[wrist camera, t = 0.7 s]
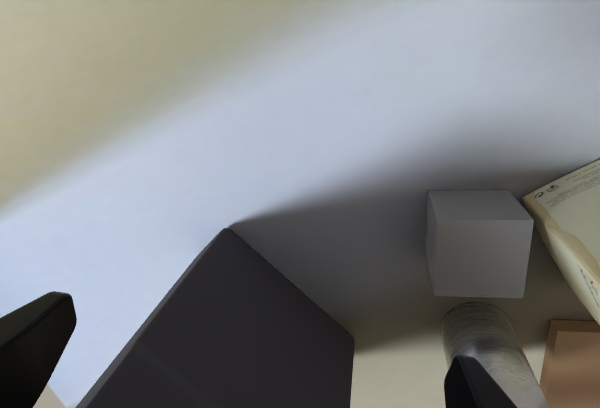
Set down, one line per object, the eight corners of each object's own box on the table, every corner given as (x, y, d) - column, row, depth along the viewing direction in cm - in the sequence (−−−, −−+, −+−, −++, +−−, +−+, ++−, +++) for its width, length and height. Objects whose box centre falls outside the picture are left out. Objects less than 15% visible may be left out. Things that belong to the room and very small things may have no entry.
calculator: (191, 260, 27) (-4, 501, 13) (232, 218, 25) (57, 443, 11) (317, 366, 28) (260, 681, 15) (362, 333, 27) (348, 653, 13)
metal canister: (507, 358, 25) (543, 448, 20) (438, 355, 26) (455, 440, 21) (514, 303, 24) (555, 383, 19) (441, 301, 25) (460, 377, 19)
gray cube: (500, 256, 23) (523, 298, 20) (425, 255, 24) (434, 295, 20) (507, 188, 22) (534, 220, 18) (427, 190, 22) (437, 220, 19)
